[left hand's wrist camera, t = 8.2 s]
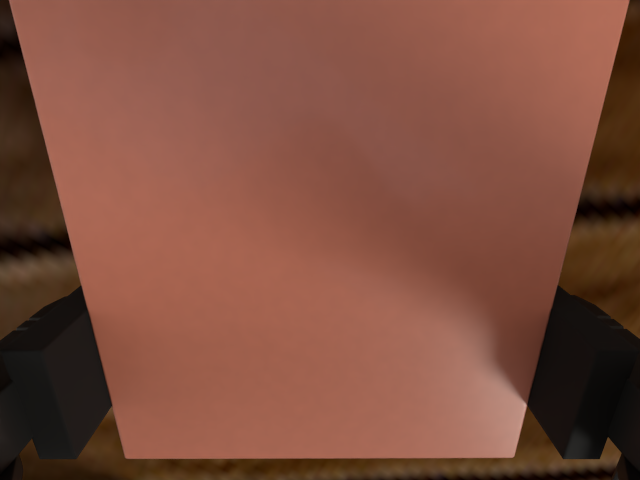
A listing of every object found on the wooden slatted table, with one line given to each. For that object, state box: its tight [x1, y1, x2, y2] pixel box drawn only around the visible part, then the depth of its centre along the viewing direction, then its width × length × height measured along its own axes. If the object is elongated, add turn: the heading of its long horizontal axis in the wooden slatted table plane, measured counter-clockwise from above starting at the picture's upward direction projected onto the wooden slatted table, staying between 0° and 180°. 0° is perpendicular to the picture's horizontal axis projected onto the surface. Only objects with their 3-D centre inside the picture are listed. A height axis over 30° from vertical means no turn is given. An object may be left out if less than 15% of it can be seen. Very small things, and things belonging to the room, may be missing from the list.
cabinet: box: [9, 0, 629, 459], centre depth 10 cm, size 21×10×9 cm, turn 0°
